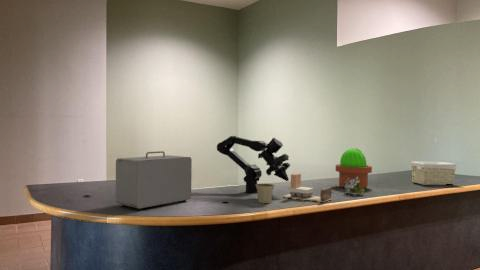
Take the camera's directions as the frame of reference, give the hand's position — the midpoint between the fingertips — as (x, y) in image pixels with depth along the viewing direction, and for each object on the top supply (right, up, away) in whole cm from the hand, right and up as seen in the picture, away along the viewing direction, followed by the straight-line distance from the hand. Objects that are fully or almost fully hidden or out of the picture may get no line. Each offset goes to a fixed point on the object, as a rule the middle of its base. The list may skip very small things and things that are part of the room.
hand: (288, 180), depth 201 cm
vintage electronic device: (-67, -9, -22) cm, 71 cm away
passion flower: (+39, -9, +10) cm, 41 cm away
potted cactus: (+46, -9, +36) cm, 59 cm away
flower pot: (-14, -9, -16) cm, 23 cm away
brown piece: (+7, -7, -4) cm, 11 cm away
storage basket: (+106, -9, +55) cm, 120 cm away
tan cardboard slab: (+9, -9, -6) cm, 14 cm away
